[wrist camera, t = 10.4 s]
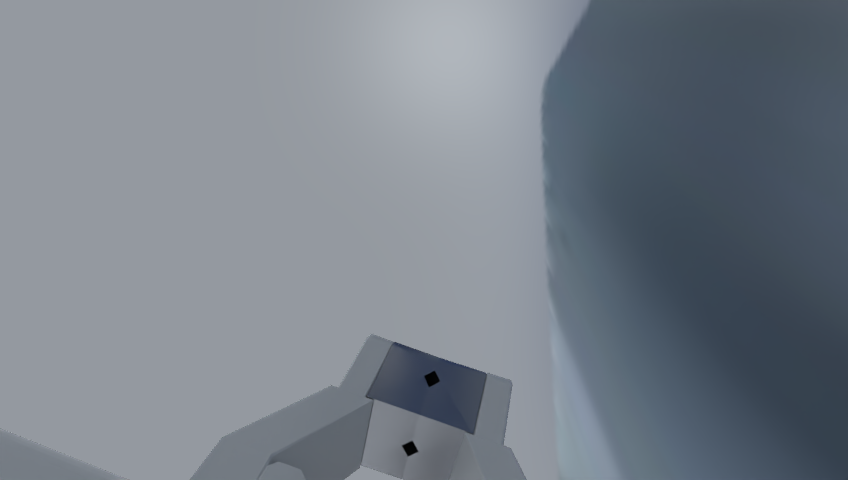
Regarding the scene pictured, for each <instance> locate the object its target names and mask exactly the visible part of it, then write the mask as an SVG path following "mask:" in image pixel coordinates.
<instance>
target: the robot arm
mask: <svg viewBox="0 0 848 480" xmlns="http://www.w3.org/2000/svg"><path fill="white" fill-rule="evenodd" d="M511 390H512V382H511V380H509V379H505V378H502V377H499V376H496V375H493V374H490V373H487V374H486V373H485V372H482V371H479V370H476V369H473V368H470V367H466V366H464V365H461V364H457V363H454V362H451V361H448V360H445V359H442V358H439V357H436V356H433V355H430V354H428V353H425V352H422V351H419V350H416V349H413V348H411V347H408V346H405V345H402V344H400V343H397V342H392V341H390V340H387V339H384V338H382V337H379V336H376V335H373V334H371V335H370V336H369V337H367V339H366V340H365V342H364V344H363V346H362V347H361V349H360V351H359V353H358V355H357V356H356V358H355V360H354V361H353V363H352V365H351V367H350V368H349V370H348V372H347V374H346V375H345V377H344V379H343V381H342V382H341V384H340V386H339V387H335V386H332V385H331V386H329V387H327V388H325V389H323V390H321V391H319V392H317V393H315V394H313V395H310V396H308V397H306V398H304V399H302V400H300V401H298V402H296V403H294V404H291V405H289V406H287V407H285V408H283V409H281V410H279V411H277V412H275V413H273V414H270V415H268V416H266V417H264V418H262V419H260V420H258V421H256V422H254V423H252V424H249V425H247V426H245V427H243V428H241V429H239V430H237V431H235V432H232V433H231V434H228V435H226V436H224V437H222V438H221V440H220V441H219V442H218V444H217V445H216V446H215V447H214V449H213V450H212V451H211V453H210V454H209V455H208V457H207V458H206V459H205V460H204V462H203V463H202V464H201V466H200V467H199V468H198V470H197V471H196V472H195V473H194V475H193V476H192V477H191V479H190V480H344V479H345V478H347V477H348V476H349V475H351V474H352V473H353V472H355V471H356V470H357V469H359V468H360V465H362V466H365V467H368V468H371V469H374V470H377V471H380V472H383V473H386V474H388V475H392V476H394V477H397V478H400V479H403V480H526V478H525V476H524V474H523V472H522V470H521V468H520V466H519V464H518V462H517V460H516V458H515V456H514V454H513V452H512V450H511V448H508V447H506V446H503V444H504V437H505V430H506V424H507V417H508V410H509V403H510V396H511ZM402 477H403V478H402ZM0 480H128V479H126V478H123V477H121V476H118V475H115V474H113V473H111V472H108V471H106V470H103V469H101V468H98V467H96V466H93V465H91V464H88V463H86V462H83V461H81V460H78V459H76V458H73V457H71V456H68V455H66V454H63V453H61V452H58V451H56V450H53V449H51V448H48V447H46V446H43V445H41V444H38V443H36V442H33V441H31V440H28V439H26V438H23V437H21V436H18V435H16V434H13V433H11V432H8V431H6V430H3V429H0Z"/></svg>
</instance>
